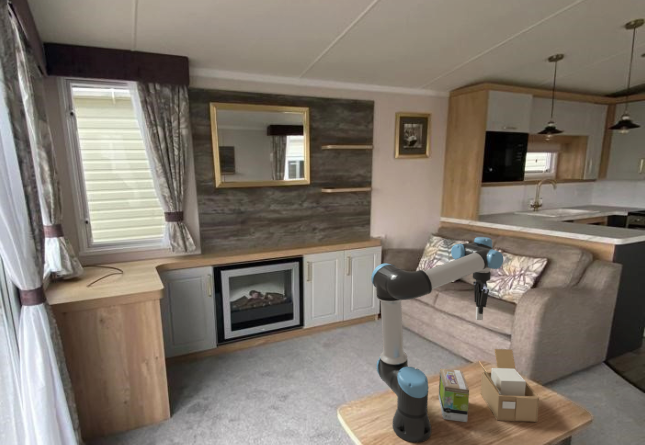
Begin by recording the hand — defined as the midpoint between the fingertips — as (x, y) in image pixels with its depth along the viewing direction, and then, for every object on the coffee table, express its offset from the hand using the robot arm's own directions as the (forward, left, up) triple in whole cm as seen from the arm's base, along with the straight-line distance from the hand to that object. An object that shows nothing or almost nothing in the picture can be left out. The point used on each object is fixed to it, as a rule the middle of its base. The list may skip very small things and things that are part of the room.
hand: (479, 319), depth 161 cm
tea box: (-16, -17, -35) cm, 42 cm away
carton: (+9, -14, -34) cm, 38 cm away
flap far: (+12, -3, -18) cm, 22 cm away
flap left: (-1, -17, -18) cm, 25 cm away
